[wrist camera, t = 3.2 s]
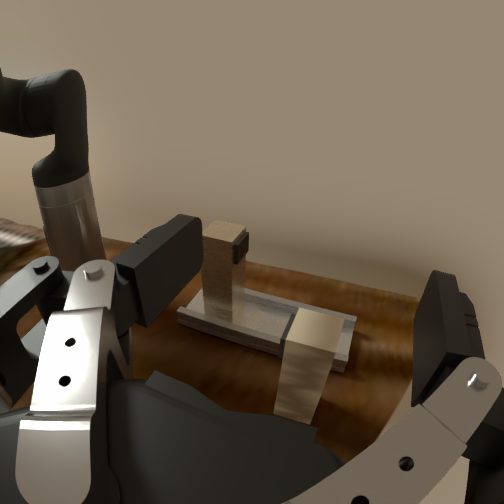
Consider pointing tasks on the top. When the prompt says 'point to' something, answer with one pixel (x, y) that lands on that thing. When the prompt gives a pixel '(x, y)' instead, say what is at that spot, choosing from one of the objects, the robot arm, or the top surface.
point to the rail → (245, 299)
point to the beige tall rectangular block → (305, 362)
